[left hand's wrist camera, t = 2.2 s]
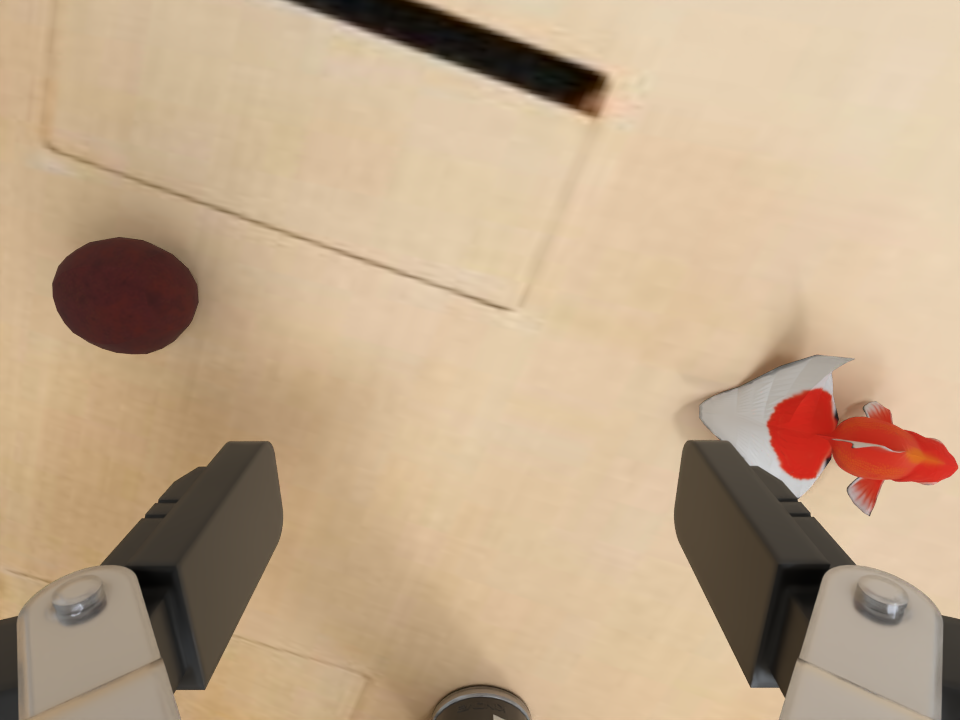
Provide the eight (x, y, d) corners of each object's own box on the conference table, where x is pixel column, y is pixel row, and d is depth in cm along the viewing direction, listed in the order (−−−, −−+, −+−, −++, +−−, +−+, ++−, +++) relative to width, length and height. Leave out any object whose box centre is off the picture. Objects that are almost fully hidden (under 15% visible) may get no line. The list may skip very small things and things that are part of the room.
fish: (863, 564, 42) (936, 597, 33) (667, 450, 47) (680, 451, 37) (937, 436, 43) (1031, 433, 33) (734, 335, 47) (764, 305, 37)
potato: (84, 236, 39) (3, 256, 32) (198, 222, 38) (140, 240, 32) (122, 340, 41) (54, 379, 35) (229, 328, 41) (181, 365, 34)
